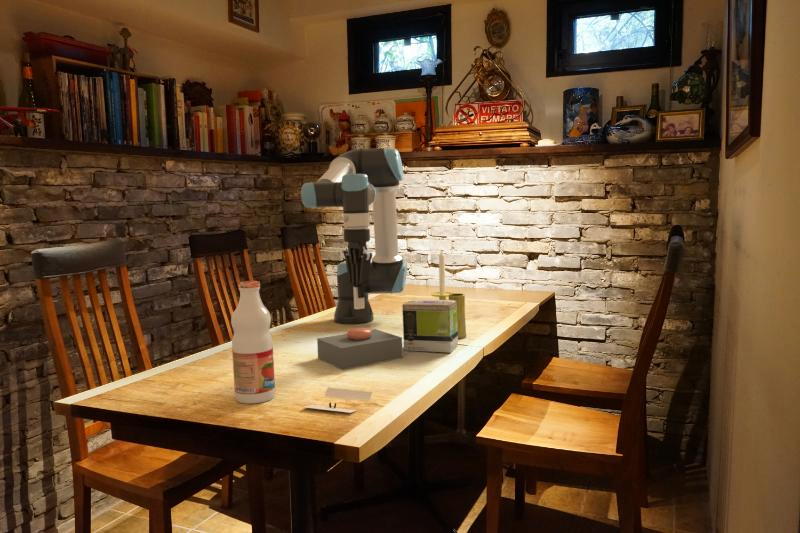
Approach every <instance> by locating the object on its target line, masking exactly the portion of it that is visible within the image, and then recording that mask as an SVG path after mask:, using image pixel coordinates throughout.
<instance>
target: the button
mask: <svg viewBox="0 0 800 533" xmlns="http://www.w3.org/2000/svg"><path fill="white" fill-rule="evenodd" d="M371 330H372V329H371V328H370V327H369V328H368V327H352V328H348V329H347V330H346V334H347V338H349V339H354V340H355V341H358V340H364V339H367V338H370V337H371Z"/></svg>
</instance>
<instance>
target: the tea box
mask: <svg viewBox="0 0 800 533" xmlns="http://www.w3.org/2000/svg"><path fill="white" fill-rule="evenodd" d="M401 306H402V330H403V332H402V333H403V337H402V339H403V350H404V351H409V352H410V351H411V352H412V351H413V352H431V353H445V354H446V353H449V354H450V353H453V351H454V350H455V349H456V348H457V347H458V345H459V339H458V323H457V300H449V299H446V300H439V299H410V300H408V301H407V302H405V303H402V305H401Z"/></svg>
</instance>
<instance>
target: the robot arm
mask: <svg viewBox="0 0 800 533" xmlns="http://www.w3.org/2000/svg"><path fill="white" fill-rule="evenodd" d="M403 179H404V167H403V163H402V158H401V155H400V152H399V151H398V149H396V148H393V147H392V148H391V147H383V148H382V147H379V148H378V147H377V148H357V149H351V150H349V151H346V152H344V153H342V154H339V155H338V156H337V157H335V158H334V159H333V160H332V161H331V162H330V163H329V166H328V169H327V170H326V172H325V173H323V175H321V177H320V178H319V179H317V181H315V182H312V181H310V182H305V183H303V185H302V187H301V191H300V196H301V202H302V204H303V206H304V207H306V208H314V209H316V208H342V215H343V217H342V220H343V227H344V228H345V229H344V230H343V241H344V242H345V243H347V250H344V251H343V256H344V259H345V261H341V262H340V263H338V264H337V266H336V267H337V268H336V280H337V281H336V282H337V283H336V284H337V303H336V308H335V310H334V311H335V312H334V314H333V320H334V323H337V324H345V325H346V324H347V325H349V324H350V325H354V324H355V325H356V324H365V323H366V324H367V323H371V322H372V321H373V320H374V318H375V317H374V312H373V309H372V306H371V304H370V301H369V294H397V293H398V294H400V293H403V291H404V290H405V287H406V283H407V282H406V281H407V275H408V273H407V272H408V263H407V262H406V261H404V260H403V256H402V255H401V254H400V253H399V241H398V220H397V219H398V218H397V198H396V190H397V188H399V186H400V182H402V181H403ZM370 205H372V216H373V231H374V232H373V233H374V249H375V253H374V254H375V255H374V256H373V253H372V252H368V246H367V242H370V240H371V231H370V230H371V229H370V228H368V227H370Z"/></svg>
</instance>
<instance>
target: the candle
mask: <svg viewBox="0 0 800 533" xmlns="http://www.w3.org/2000/svg"><path fill="white" fill-rule="evenodd" d="M445 258H446V255H445V254H444V252H443V249H441V251H440V254H439V255H438V260H439V261H438V266H439V267H438V268H439V269H438V274H439V277H438V278H439V279H438V280H439V292H433V293H431V296H432V297H435V298H436V297H439V298H438V300H447V298H449V294H454V293H455V292H454V293H453V292H448V291H447V292H446V260H445Z"/></svg>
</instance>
